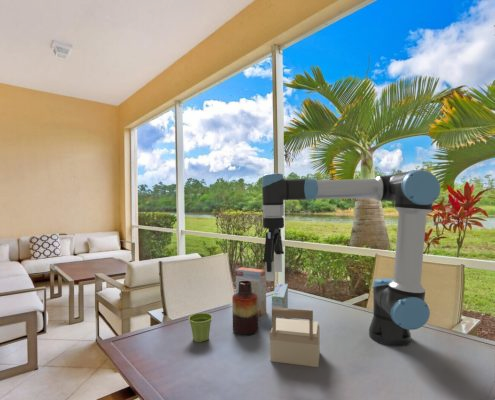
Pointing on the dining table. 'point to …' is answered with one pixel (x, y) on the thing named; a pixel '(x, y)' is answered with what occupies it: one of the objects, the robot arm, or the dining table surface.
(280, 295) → the snack box
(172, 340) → the dining table surface
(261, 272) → the cracker box
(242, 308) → the vase
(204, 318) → the plant pot
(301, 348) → the carton
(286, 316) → the flap
